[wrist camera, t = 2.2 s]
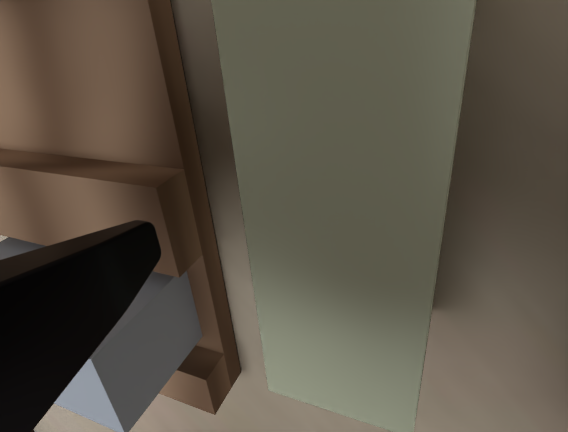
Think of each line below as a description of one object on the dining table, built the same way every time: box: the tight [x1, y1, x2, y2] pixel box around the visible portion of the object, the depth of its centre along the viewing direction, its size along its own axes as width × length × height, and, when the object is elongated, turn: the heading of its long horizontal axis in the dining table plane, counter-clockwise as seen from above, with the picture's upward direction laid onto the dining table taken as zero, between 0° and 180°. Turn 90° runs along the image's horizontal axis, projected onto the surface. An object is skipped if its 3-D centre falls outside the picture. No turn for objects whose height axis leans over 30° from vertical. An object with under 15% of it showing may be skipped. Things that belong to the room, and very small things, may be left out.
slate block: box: [0, 237, 202, 432], centre depth 17 cm, size 10×4×5 cm, turn 94°
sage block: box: [211, 0, 477, 432], centre depth 10 cm, size 10×4×5 cm, turn 5°
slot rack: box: [0, 0, 241, 415], centre depth 17 cm, size 12×20×2 cm, turn 4°
